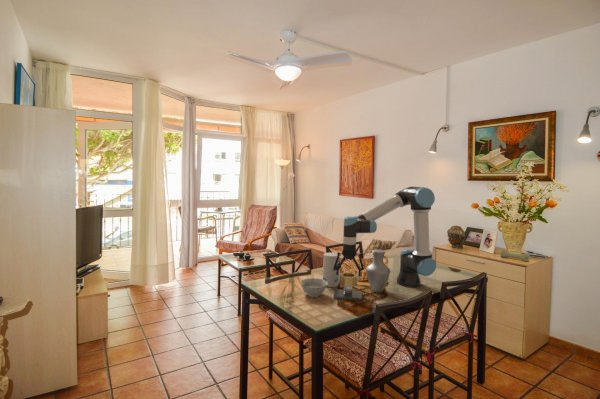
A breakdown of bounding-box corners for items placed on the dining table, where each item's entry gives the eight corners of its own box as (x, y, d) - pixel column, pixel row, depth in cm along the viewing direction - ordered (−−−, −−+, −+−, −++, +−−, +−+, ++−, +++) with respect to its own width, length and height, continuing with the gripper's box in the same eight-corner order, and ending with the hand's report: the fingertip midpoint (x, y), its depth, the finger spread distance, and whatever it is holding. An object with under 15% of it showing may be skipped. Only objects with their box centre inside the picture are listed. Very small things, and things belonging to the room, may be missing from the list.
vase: (387, 296, 194) (389, 254, 192) (363, 292, 199) (365, 252, 197) (390, 288, 208) (391, 249, 206) (367, 285, 212) (368, 247, 211)
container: (337, 287, 206) (338, 256, 205) (321, 286, 208) (322, 255, 207) (338, 282, 216) (339, 252, 215) (323, 281, 218) (324, 251, 217)
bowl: (306, 301, 183) (307, 288, 183) (295, 291, 198) (296, 279, 197) (331, 297, 190) (332, 285, 189) (319, 288, 204) (319, 276, 204)
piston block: (361, 293, 198) (361, 277, 197) (362, 300, 186) (362, 284, 185) (334, 291, 200) (334, 276, 199) (333, 298, 188) (334, 282, 187)
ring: (356, 281, 197) (356, 272, 196) (357, 286, 187) (357, 278, 186) (339, 280, 198) (339, 272, 198) (339, 285, 188) (339, 277, 188)
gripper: (369, 243, 193) (367, 280, 194) (330, 241, 196) (329, 277, 197) (369, 245, 185) (368, 284, 187) (329, 243, 188) (328, 281, 190)
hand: (348, 280), depth 192 cm, fingers closed on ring, 10 cm apart
